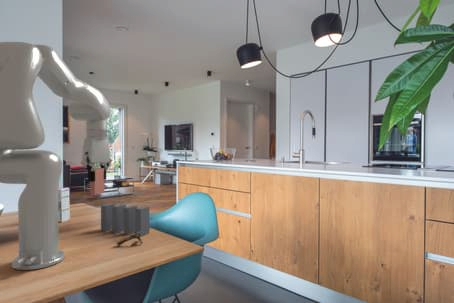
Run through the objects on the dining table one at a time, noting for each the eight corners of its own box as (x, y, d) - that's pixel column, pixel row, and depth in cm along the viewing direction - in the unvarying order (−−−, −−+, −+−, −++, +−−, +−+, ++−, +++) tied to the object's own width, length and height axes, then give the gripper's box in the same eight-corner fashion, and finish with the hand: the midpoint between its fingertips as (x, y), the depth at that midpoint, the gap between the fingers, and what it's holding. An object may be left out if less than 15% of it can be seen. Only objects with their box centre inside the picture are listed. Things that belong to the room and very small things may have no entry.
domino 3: (126, 230, 114) (126, 204, 113) (117, 233, 109) (116, 207, 109) (121, 229, 115) (121, 204, 114) (112, 232, 110) (111, 206, 110)
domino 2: (115, 228, 116) (115, 203, 116) (105, 231, 111) (105, 205, 111) (110, 227, 117) (110, 203, 116) (101, 231, 112) (100, 205, 112)
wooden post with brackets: (145, 242, 96) (139, 230, 96) (121, 254, 94) (115, 242, 94) (145, 240, 98) (139, 229, 97) (122, 252, 96) (116, 240, 96)
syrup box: (70, 219, 131) (70, 187, 130) (61, 222, 125) (61, 189, 124) (58, 218, 131) (58, 187, 131) (49, 222, 125) (48, 188, 125)
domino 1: (104, 192, 118) (104, 168, 117) (94, 194, 113) (94, 169, 113) (100, 192, 118) (99, 168, 118) (90, 194, 114) (89, 168, 114)
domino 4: (137, 231, 112) (137, 205, 111) (128, 235, 107) (128, 208, 107) (132, 230, 112) (132, 205, 112) (123, 234, 108) (123, 207, 108)
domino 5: (149, 233, 109) (149, 206, 109) (140, 236, 105) (140, 209, 105) (144, 232, 110) (144, 206, 110) (135, 236, 106) (135, 208, 106)
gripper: (105, 135, 125) (106, 177, 125) (71, 134, 109) (71, 182, 109) (119, 135, 122) (120, 178, 122) (86, 134, 106) (86, 183, 106)
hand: (97, 180), depth 116 cm, fingers closed on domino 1, 4 cm apart
